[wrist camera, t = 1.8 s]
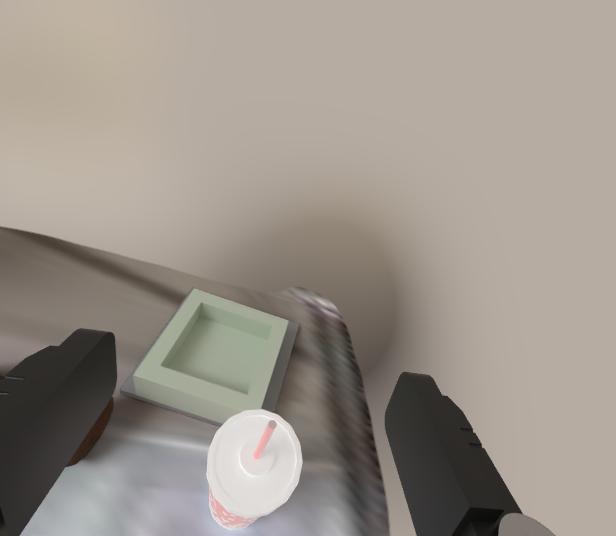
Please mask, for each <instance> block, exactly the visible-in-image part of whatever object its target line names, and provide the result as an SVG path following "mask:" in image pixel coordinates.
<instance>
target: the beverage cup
mask: <svg viewBox="0 0 616 536" xmlns="http://www.w3.org/2000/svg"><path fill="white" fill-rule="evenodd" d="M302 463H303V461H302V454H301V447H300V442H299V440H298V438H297V436H296V434H295V432H294V430H293V429H292V427H291V426H290V425H289V424H288V423H287V422H286V421H285V420H284V419H282V418H281V417H280V416H279V415H277V414H274V413H272V412H269V411H266V410H263V409H258V410H245V411H243V412H241V413H239V414H237V415H234V416H232V417H230V418H229V419H228V420H227V421H226V422H225V423H224V424H223V425H222V426H221V427H220V428H219V429H218V430H217V432H216V434H215V436H214V438H213V441H212V443H211V445H210V448H209V450H208V459H207V479H208V482H209V485H210V492H209V507H210V510H211V513H212V516H213V518H214V519H215V520H216V521H217V522H218V523H219V525H220V526H221V527H224V528H227V529H230V530H238V529H244V528H246V527H247V526H248V525H250V524H251V523H253V522H254V521H255V520H257V519H258V518H259V517H261V516H266V515H268V514H270V513H271V512H273V511H274V510H275V509H277V508H278V507H280V506H281V505H283V504H284V503H285V502H286V501H287V500H288V499H289V497H290V495H291V494H292V492H293V491H294V489H295V487H296V486H297V484H298V483H299V478H300V473H301V468H302Z"/></svg>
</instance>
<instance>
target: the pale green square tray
mask: <svg viewBox="0 0 616 536" xmlns="http://www.w3.org/2000/svg"><path fill="white" fill-rule="evenodd" d="M298 327H299V324H297V323H294V322H291V321H288V320H285V319H282V318H279V317H276V316H273V315H271V314H268V313H265V312H262V311H259V310H256V309H253V308H250V307H247V306H244V305H241V304H239V303H236V302H233V301H230V300H227V299H224V298H221V297H218V296H215V295H212V294H209V293H207V292H204V291H201V290H198V289H195V288H192V289H191V291H190V292H189V293H188V295H187V296H186V298H185V299H184V300H183V302H182V303H181V305H180V306H179V307H178V309H177V310H176V312H175V313H174V314H173V316H172V317H171V319H170V320H169V321H168V323H167V324H166V326H165V327H164V328H163V330H162V331H161V333H160V334H159V335H158V337H157V338H156V340H155V341H154V342H153V344H152V345H151V347H150V348H149V349H148V351H147V352H146V354H145V355H144V356H143V358H142V359H141V361H140V362H139V363H138V365H137V366H136V368H135V369H134V370H133V372H132V373H131V375H130V376H129V377H128V379H127V380H126V382H125V383H124V384H123V386H122V387H121V389H120V393H121V394H123V395H126V396H129V397H132V398H135V399H138V400H141V401H144V402H147V403H150V404H153V405H156V406H159V407H162V408H165V409H168V410H171V411H174V412H177V413H180V414H183V415H186V416H189V417H192V418H195V419H198V420H201V421H204V422H207V423H210V424H213V425H216V426H219V427H221V426H222V425H223V424H224V423H225V422H226V421H227V420H228V419H229V418H230V417H232V416H234V415H237V414H239V413H241V412H243V411H245V410H258V409H263V410H266V411H269V412H272V413H274V412H275V409H276V405H277V402H278V398H279V395H280V391H281V388H282V384H283V380H284V377H285V373H286V370H287V366H288V363H289V359H290V356H291V352H292V348H293V345H294V341H295V338H296V334H297V331H298Z"/></svg>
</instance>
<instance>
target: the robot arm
mask: <svg viewBox="0 0 616 536" xmlns="http://www.w3.org/2000/svg"><path fill="white" fill-rule="evenodd" d="M116 382H117V365H116V347H115V336H114V334H113V333H111V332H105V331H98V330H90V329H82V328H80V329H78V330H76V331H75V332H73V333H72V334H71V335H70V336H69V337H68V338H67V339H66V340H65V341H64V342H63V343H62V344H61V345H60V346H59V347H58V346H49V347H47V348H45V349H43V350H41V351H39V352H37V353H35V354H33V355H31V356H29V357H27V358H25V359H24V360H23V361H22V362H21V363H19V364H18V365H17V366H16V367H15V368H14V369H13V370H11V371H10V372H9V373H8V374H7V375H6V377H5V379H1V380H0V536H19V535H20V534H21V532H22V531H23V529H24V528H25V527H26V525H27V524H28V522H29V521H30V519H31V518H32V516H33V515H34V513H35V512H36V510H37V509H38V507H39V506H40V504H41V503H42V501H43V500H44V498H45V497H46V495H47V494H48V492H49V491H50V489H51V488H52V486H53V485H54V483H55V482H56V480H57V479H58V477H59V476H60V474H61V473H62V471H63V470H64V468H65V467H66V465H67V464H68V462H69V461H70V459H71V458H72V456H73V455H74V453H75V452H76V450H77V449H78V447H79V446H80V444H81V443H82V441H83V440H84V438H85V437H86V435H87V434H88V432H89V431H90V429H91V428H92V426H93V425H94V423H95V422H96V420H97V419H98V417H99V416H100V414H101V413H102V412H103V410H104V409H105V407H106V406H107V404H108V403H109V401H110V399H111V397H112V395H113V393H114V390H115V387H116ZM385 429H386V434H387V437H388V441H389V444H390V447H391V451H392V454H393V457H394V461H395V464H396V467H397V471H398V474H399V478H400V481H401V484H402V488H403V491H404V494H405V498H406V501H407V504H408V508H409V511H410V514H411V518H412V521H413V524H414V528H415V531H416V534H417V536H555V535H554V534H553V533H552V532H551V531H550V530H549V529H548V528H546V527H545V526H544V525H542V524H541V523H539V522H538V521H536V520H534V519H532V518H530V517H528V516H525V515H523V514H522V512H521V510H520V508H519V507H518V505H517V503H516V502H515V500H514V499H513V496H512V495H511V493H510V492H509V490H508V488H507V486H506V485H505V483H504V481H503V479H502V478H501V476H500V474H499V473H498V471H497V469H496V468H495V466H494V464H493V462H492V461H491V459H490V457H489V456H488V454H487V452H486V451H485V449H484V448H482V444H481V442H480V440H479V439H478V437H477V435H476V434H475V433H473V429H472V427H471V425H470V423H469V422H468V420H467V418H466V417H465V415H464V413H463V412H462V411H461V409H460V408H459V407H458V406H457V405H456V404H455V403H454V402H453V401H452V400H451V399H450V398H449V397H448V396H443V395H442V394H441V392H440V390H439V389H438V387H437V385H436V383H435V381H434V380H433V378H432V377H431V376H429V375H424V374H417V373H409V372H403V373H402V374H401V375H400V377H399V379H398V381H397V384H396V386H395V389H394V392H393V394H392V396H391V399H390V401H389V404H388V406H387V409H386V413H385Z"/></svg>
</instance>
